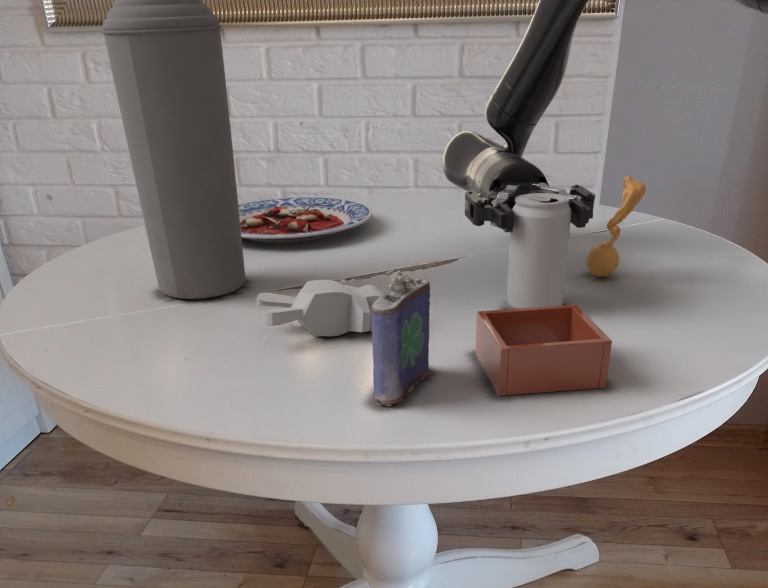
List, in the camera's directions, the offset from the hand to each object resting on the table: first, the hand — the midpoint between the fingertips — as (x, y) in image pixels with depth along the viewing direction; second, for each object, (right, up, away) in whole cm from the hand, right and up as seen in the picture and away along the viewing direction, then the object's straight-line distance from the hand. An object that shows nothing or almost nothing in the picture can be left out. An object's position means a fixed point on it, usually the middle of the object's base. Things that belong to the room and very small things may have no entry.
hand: (547, 220), depth 84 cm
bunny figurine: (-23, -11, +3) cm, 26 cm away
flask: (-16, -19, -10) cm, 27 cm away
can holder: (-3, -17, -8) cm, 19 cm away
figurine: (+11, -1, +16) cm, 20 cm away
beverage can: (0, -7, +8) cm, 11 cm away
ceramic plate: (-32, +14, +42) cm, 54 cm away
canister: (-40, -2, +18) cm, 44 cm away
